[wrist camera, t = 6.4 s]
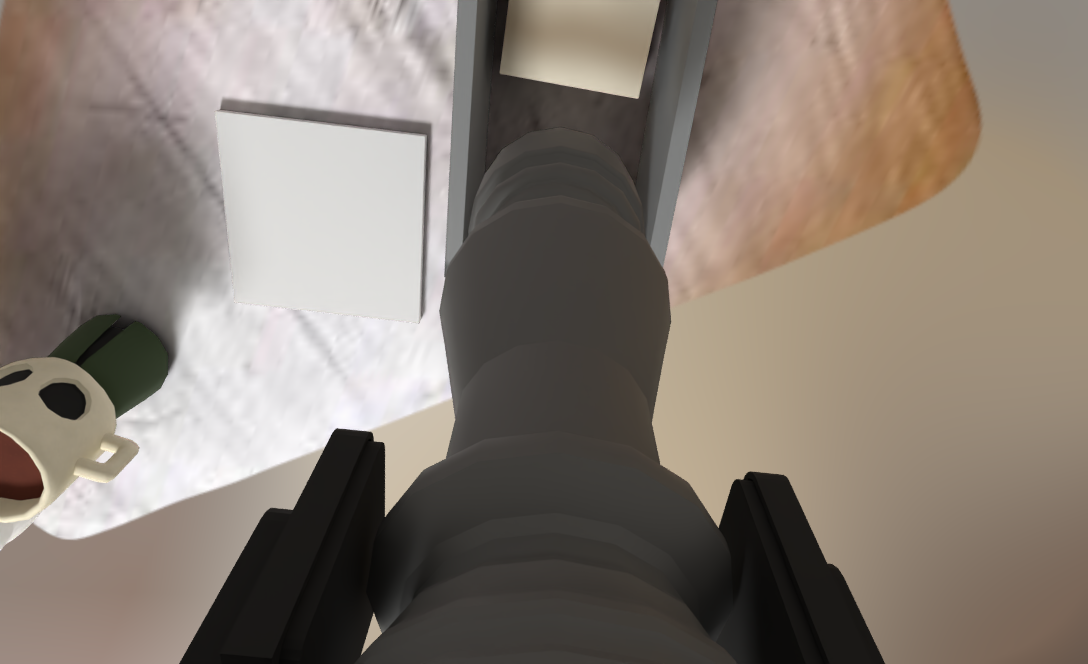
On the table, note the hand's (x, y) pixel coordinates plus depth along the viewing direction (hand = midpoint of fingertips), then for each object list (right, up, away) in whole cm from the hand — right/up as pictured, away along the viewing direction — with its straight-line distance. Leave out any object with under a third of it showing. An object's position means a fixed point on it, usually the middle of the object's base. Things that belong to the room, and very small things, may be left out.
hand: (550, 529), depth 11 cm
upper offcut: (+2, +19, +23) cm, 30 cm away
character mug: (-29, +2, +36) cm, 46 cm away
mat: (-14, +10, +31) cm, 35 cm away
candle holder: (0, +8, +16) cm, 18 cm away
